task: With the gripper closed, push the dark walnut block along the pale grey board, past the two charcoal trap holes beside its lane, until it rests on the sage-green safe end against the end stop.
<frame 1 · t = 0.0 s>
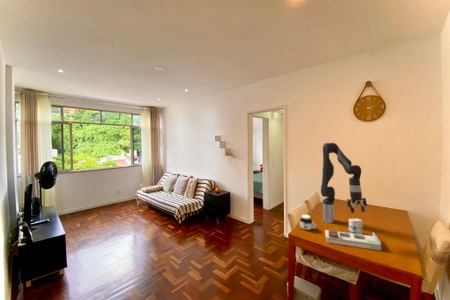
hand: (357, 212, 149), 22 cm above the table, tool pointing down, fingers open, 8 cm apart
walnut block: (333, 237, 152), point 2 cm above the table, touching trap board
trap board: (350, 240, 150), on the table
ink box: (355, 233, 161), on the table
spread jar: (308, 228, 173), on the table
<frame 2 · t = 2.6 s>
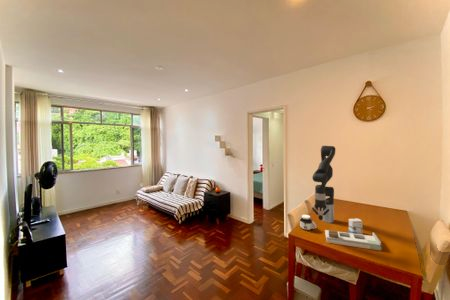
hand: (320, 219, 154), 16 cm above the table, tool pointing down, fingers closed
nothing on the table moved.
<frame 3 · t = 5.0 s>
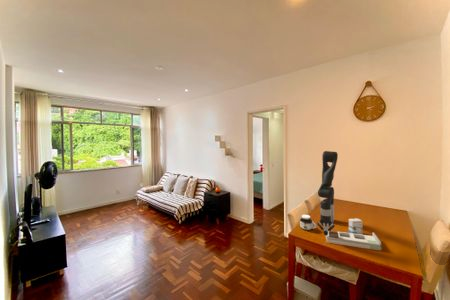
hand: (325, 235, 154), 3 cm above the table, tool pointing down, fingers closed
walnut block: (333, 237, 152), point 2 cm above the table, touching gripper, trap board
everything else where it was.
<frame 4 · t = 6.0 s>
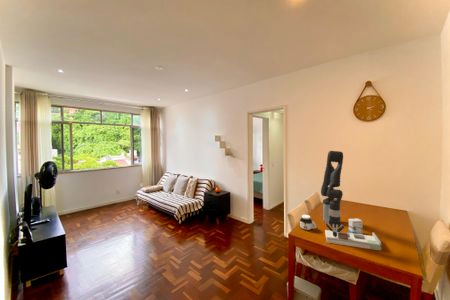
hand: (334, 236, 151), 4 cm above the table, tool pointing down, fingers closed
walnut block: (342, 238, 149), point 3 cm above the table, touching gripper, trap board
everything else where it was.
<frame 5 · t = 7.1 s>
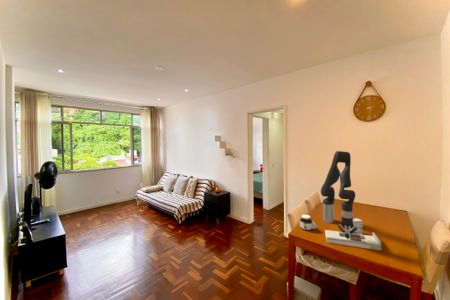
hand: (347, 238, 148), 4 cm above the table, tool pointing down, fingers closed
walnut block: (355, 240, 146), point 3 cm above the table, touching gripper, trap board
everything else where it was.
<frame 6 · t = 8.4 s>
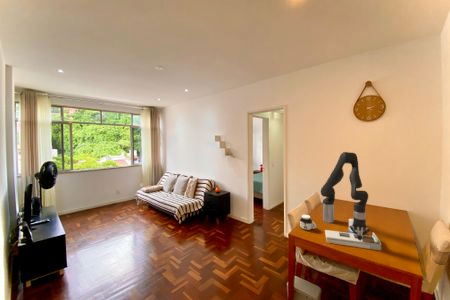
hand: (359, 239, 145), 4 cm above the table, tool pointing down, fingers closed
walnut block: (368, 242, 142), point 2 cm above the table, touching gripper, trap board
everything else where it was.
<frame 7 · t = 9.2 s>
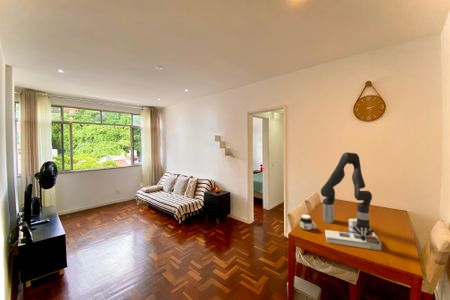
hand: (363, 240, 144), 4 cm above the table, tool pointing down, fingers closed
walnut block: (371, 243, 142), point 2 cm above the table, touching gripper, trap board
everything else where it was.
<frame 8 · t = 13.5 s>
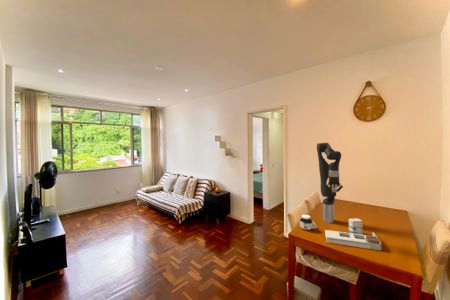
hand: (334, 196, 160), 32 cm above the table, tool pointing down, fingers closed
walnut block: (371, 243, 142), point 2 cm above the table, touching trap board
everything else where it was.
at the end: walnut block inside the target area (0.6 cm from its centre), point 2.5 cm above the table; walnut block tilted 0° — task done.
